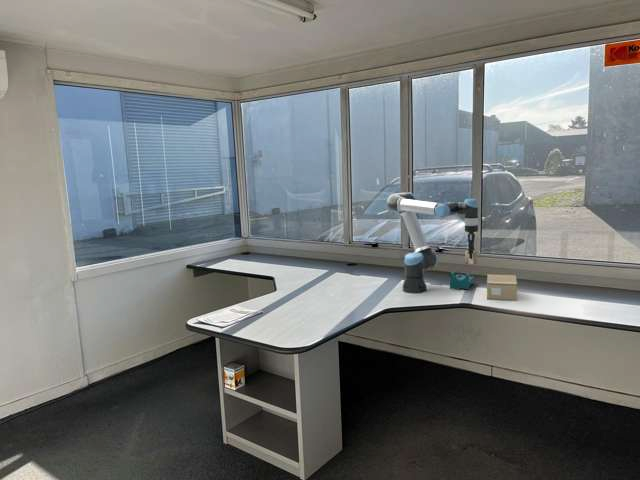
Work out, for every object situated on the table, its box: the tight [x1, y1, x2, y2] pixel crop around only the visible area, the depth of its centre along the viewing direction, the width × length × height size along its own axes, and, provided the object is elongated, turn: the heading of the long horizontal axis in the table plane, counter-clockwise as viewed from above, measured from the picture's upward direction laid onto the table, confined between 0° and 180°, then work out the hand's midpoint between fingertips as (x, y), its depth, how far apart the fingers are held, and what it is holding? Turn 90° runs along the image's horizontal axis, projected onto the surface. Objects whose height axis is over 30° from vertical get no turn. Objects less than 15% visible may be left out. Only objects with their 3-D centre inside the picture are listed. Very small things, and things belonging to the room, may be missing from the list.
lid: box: [486, 274, 518, 286], centre depth 267 cm, size 16×20×1 cm
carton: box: [486, 283, 518, 302], centre depth 268 cm, size 16×20×9 cm
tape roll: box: [464, 250, 479, 265], centre depth 272 cm, size 7×7×7 cm
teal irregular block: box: [449, 271, 474, 291], centre depth 292 cm, size 18×11×10 cm, turn 150°
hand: (471, 262), depth 272 cm, fingers closed on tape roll, 7 cm apart
